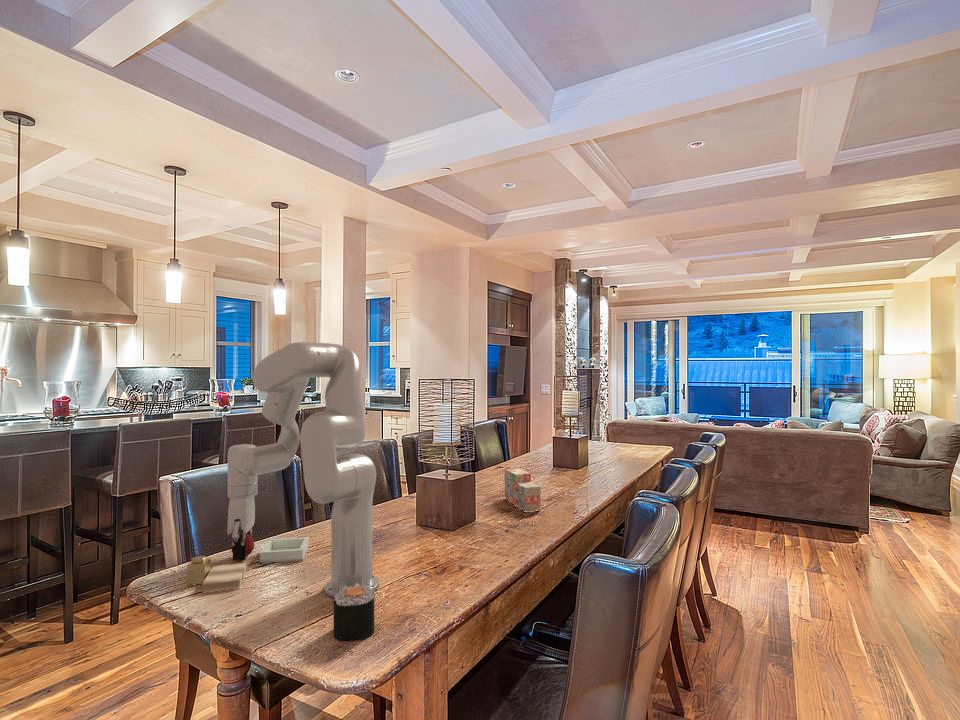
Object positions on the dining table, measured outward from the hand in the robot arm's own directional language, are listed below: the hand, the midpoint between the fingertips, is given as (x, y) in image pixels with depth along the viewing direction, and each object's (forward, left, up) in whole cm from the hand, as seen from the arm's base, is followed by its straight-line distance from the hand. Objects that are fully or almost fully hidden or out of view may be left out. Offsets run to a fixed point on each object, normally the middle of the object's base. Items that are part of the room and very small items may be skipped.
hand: (242, 555), depth 143 cm
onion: (0, 0, -1) cm, 1 cm away
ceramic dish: (+1, -11, -1) cm, 11 cm away
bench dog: (-14, +6, -1) cm, 15 cm away
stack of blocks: (+40, -90, -2) cm, 98 cm away
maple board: (-15, 0, -2) cm, 15 cm away
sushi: (-46, -33, -1) cm, 57 cm away
